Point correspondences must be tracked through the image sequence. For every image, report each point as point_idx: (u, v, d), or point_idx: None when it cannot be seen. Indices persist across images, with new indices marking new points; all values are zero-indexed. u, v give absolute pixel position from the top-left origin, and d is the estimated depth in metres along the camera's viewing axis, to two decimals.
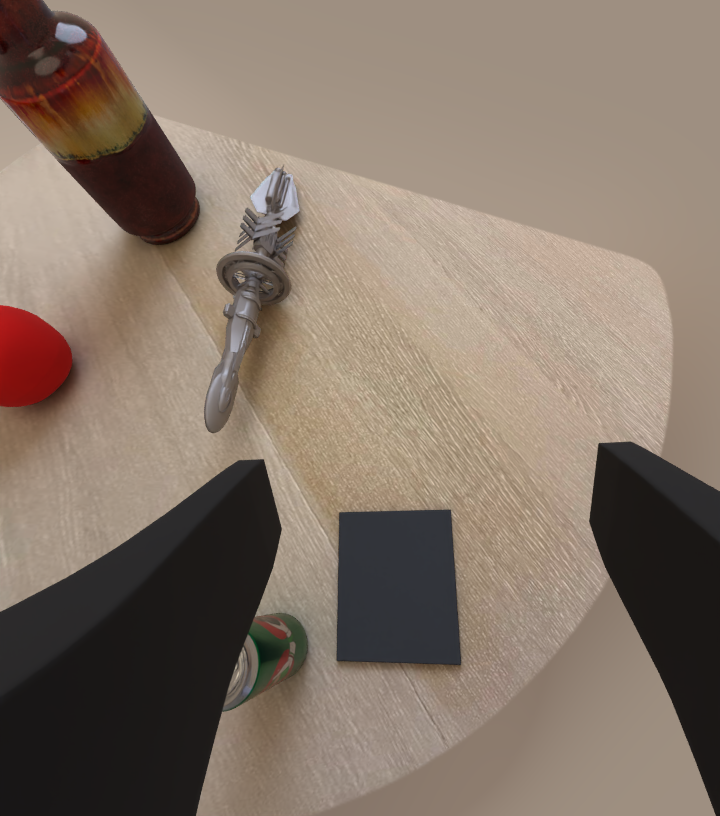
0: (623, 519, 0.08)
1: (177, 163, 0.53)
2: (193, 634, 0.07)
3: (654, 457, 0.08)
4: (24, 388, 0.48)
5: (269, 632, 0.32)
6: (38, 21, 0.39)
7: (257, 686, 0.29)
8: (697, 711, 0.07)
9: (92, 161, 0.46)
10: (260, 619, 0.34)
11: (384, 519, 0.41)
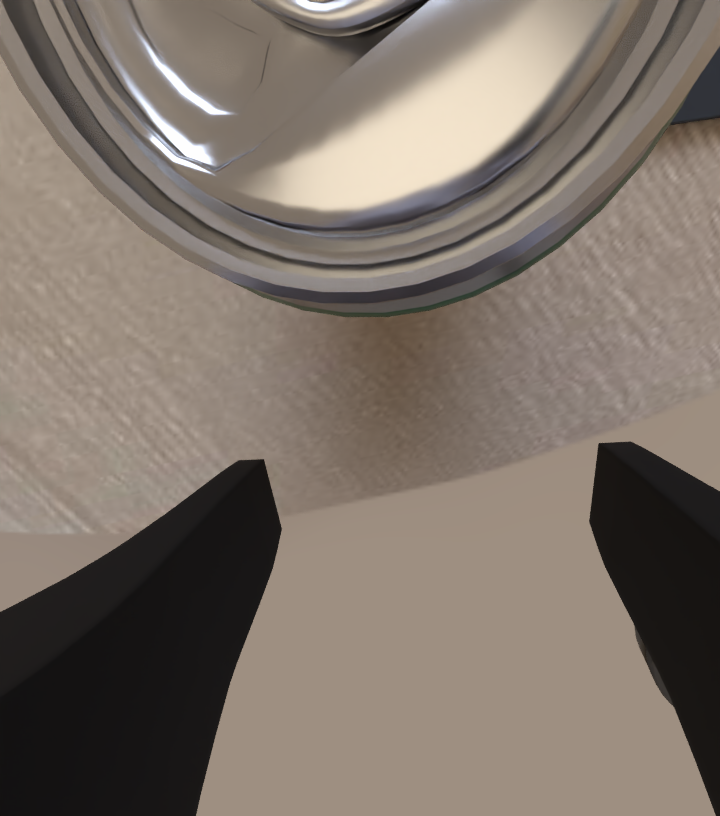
0: (623, 519, 0.08)
1: None
2: (193, 634, 0.07)
3: (654, 457, 0.08)
4: None
5: None
6: None
7: None
8: (697, 711, 0.06)
9: None
10: None
11: None
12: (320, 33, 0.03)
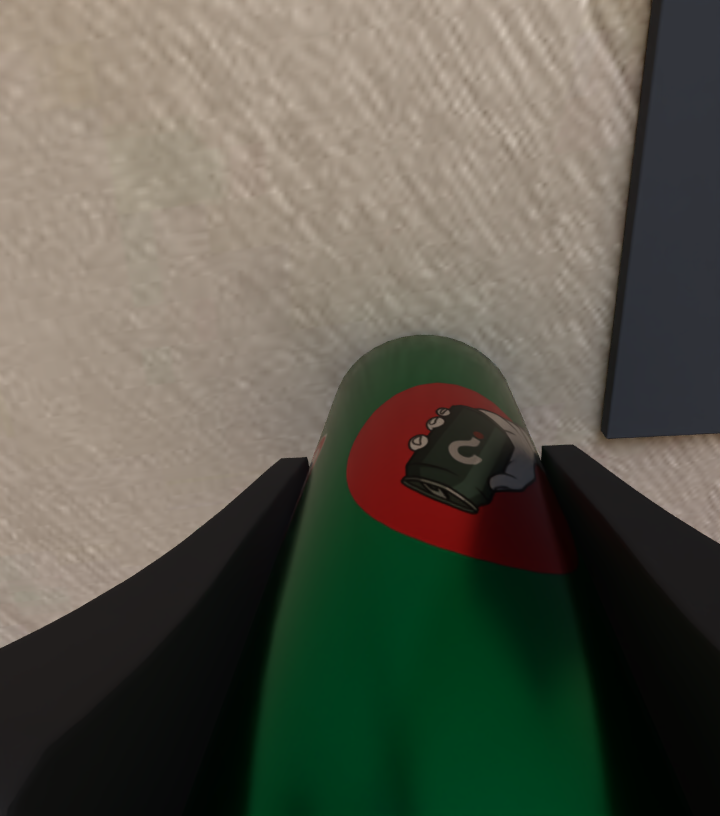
0: None
1: None
2: None
3: (589, 459, 0.08)
4: None
5: (577, 581, 0.05)
6: None
7: None
8: None
9: None
10: (465, 480, 0.06)
11: None
12: None
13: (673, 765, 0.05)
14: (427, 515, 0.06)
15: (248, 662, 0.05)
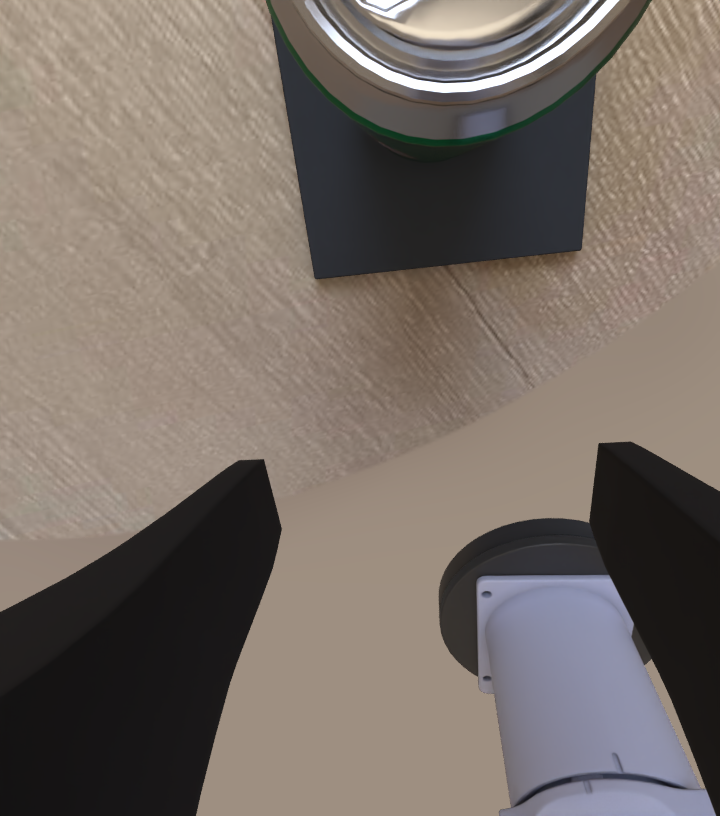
0: (623, 519, 0.08)
1: None
2: (193, 634, 0.07)
3: (654, 457, 0.08)
4: None
5: None
6: None
7: None
8: (697, 711, 0.06)
9: None
10: None
11: None
12: None
13: None
14: None
15: None
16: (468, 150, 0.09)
